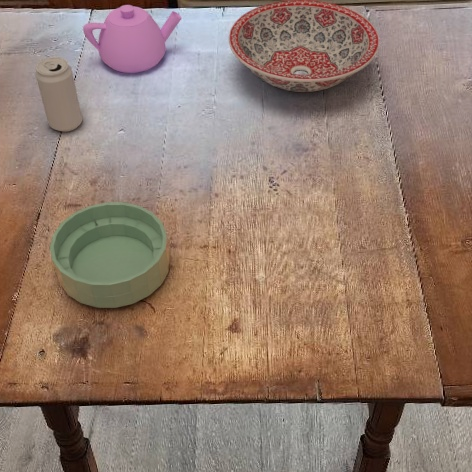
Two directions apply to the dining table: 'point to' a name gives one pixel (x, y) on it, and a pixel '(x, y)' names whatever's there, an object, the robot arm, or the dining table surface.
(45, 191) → the dining table surface
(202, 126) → the dining table surface
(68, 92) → the beverage can
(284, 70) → the ceramic bowl
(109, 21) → the teapot
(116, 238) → the green bowl
